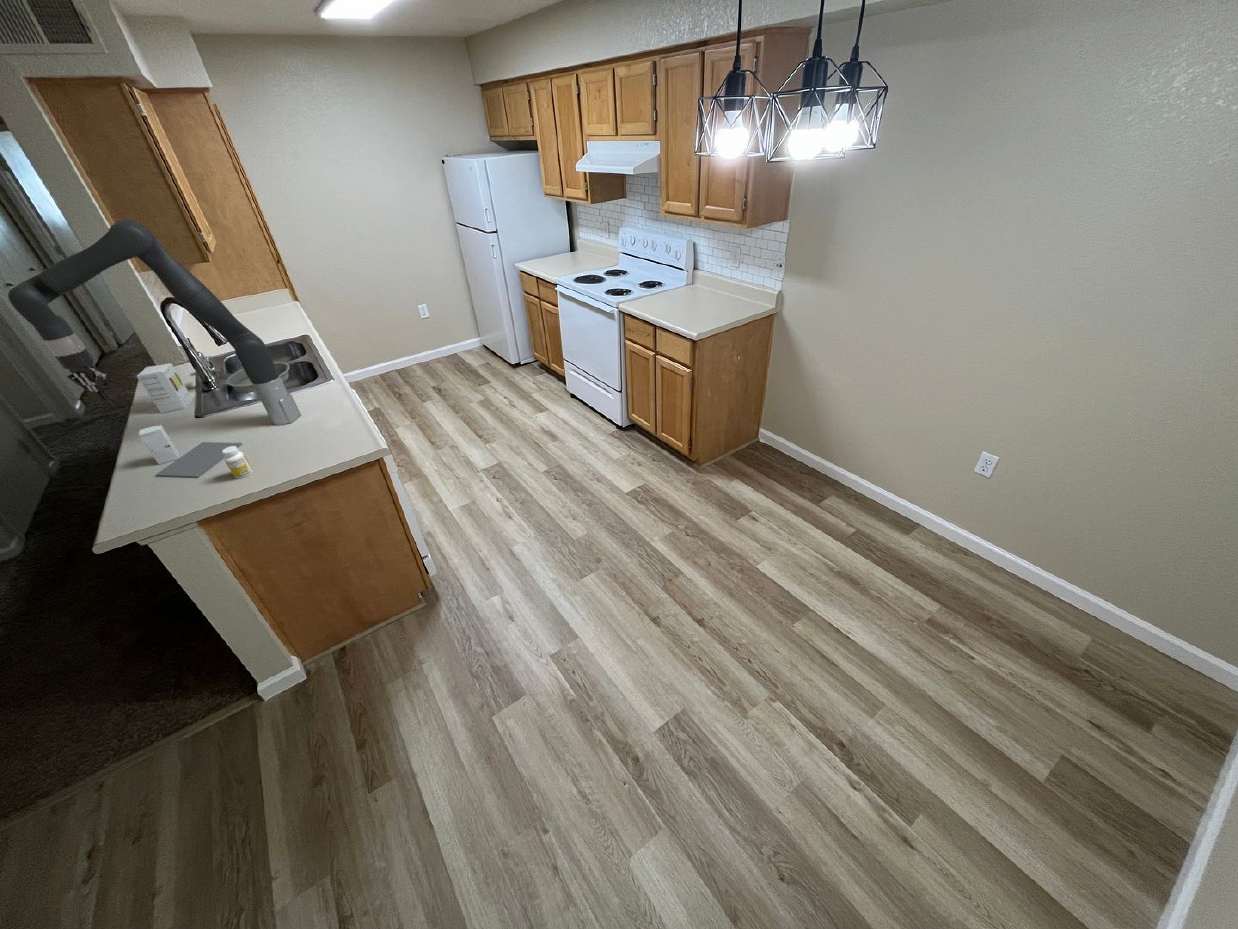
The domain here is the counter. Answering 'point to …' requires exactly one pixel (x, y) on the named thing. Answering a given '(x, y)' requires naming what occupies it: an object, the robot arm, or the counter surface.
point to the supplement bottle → (237, 462)
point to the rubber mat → (197, 460)
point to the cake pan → (244, 384)
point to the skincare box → (159, 444)
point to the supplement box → (165, 387)
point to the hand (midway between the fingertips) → (105, 400)
